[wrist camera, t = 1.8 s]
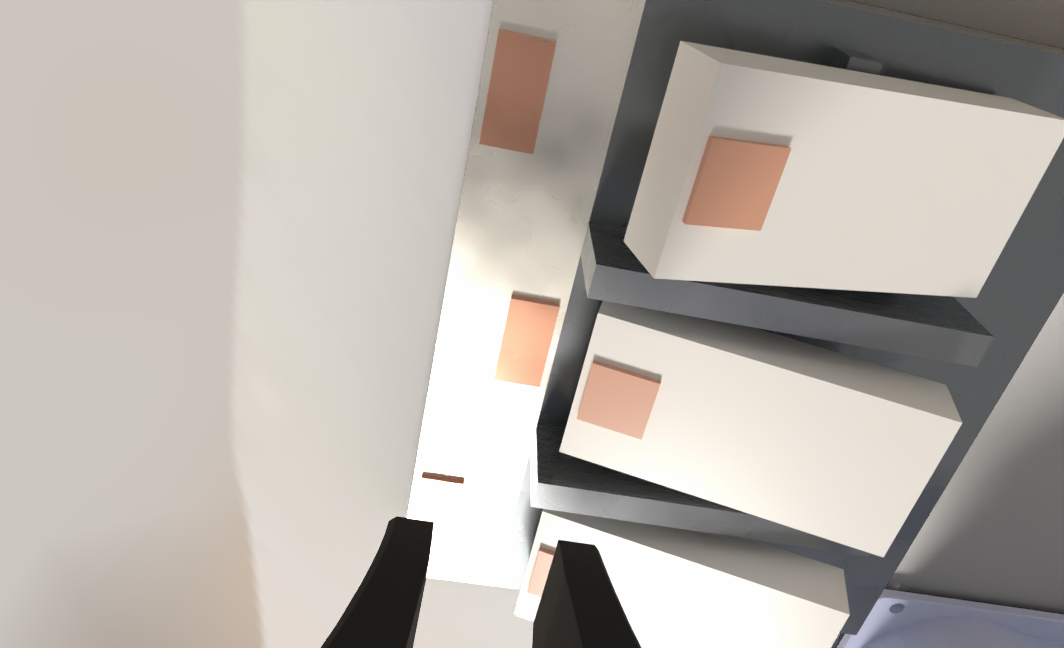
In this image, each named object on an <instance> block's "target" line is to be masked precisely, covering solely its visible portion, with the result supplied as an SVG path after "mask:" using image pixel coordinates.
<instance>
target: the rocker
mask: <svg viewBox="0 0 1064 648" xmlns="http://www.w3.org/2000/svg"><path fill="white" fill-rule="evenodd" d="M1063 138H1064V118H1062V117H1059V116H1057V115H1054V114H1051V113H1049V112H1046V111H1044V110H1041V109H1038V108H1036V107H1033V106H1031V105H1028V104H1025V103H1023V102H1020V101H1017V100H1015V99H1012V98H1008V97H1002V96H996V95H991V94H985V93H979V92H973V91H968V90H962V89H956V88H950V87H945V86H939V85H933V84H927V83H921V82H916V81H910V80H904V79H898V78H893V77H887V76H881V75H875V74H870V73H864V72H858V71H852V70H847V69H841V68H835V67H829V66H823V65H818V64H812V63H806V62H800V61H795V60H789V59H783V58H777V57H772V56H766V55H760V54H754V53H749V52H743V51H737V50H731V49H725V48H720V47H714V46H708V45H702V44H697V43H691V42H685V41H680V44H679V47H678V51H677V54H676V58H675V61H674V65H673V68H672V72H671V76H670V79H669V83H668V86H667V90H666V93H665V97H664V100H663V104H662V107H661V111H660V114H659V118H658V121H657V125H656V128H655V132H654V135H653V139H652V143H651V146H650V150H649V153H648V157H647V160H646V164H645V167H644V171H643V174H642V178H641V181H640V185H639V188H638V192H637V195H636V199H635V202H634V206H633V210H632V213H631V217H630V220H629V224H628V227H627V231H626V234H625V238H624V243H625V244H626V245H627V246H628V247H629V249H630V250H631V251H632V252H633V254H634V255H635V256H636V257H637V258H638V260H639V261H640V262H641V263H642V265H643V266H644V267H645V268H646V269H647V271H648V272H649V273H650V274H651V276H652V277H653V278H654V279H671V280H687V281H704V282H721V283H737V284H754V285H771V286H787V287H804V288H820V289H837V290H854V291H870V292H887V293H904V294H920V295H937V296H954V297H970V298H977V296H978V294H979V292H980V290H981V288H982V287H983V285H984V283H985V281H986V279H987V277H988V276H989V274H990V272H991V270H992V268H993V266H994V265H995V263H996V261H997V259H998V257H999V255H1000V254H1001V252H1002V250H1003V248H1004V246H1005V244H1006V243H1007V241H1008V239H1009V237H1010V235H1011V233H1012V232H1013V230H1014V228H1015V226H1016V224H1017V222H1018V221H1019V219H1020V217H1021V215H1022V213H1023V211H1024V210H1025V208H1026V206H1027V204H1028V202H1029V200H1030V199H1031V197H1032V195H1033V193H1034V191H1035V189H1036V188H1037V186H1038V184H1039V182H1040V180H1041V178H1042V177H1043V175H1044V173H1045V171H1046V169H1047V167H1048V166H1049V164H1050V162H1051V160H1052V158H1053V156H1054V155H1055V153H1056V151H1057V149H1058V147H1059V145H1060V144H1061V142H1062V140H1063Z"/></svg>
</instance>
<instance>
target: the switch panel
mask: <svg viewBox="0 0 1064 648" xmlns="http://www.w3.org/2000/svg"><path fill="white" fill-rule="evenodd" d="M680 41H685V42H691V43H697V44H702V45H708V46H714V47H720V48H725V49H731V50H737V51H743V52H749V53H754V54H760V55H766V56H772V57H777V58H783V59H789V60H795V61H800V62H806V63H812V64H818V65H823V66H829V67H835V68H841V69H847V70H852V71H858V72H864V73H870V74H875V75H881V76H887V77H893V78H898V79H904V80H910V81H916V82H921V83H927V84H933V85H939V86H945V87H950V88H956V89H962V90H968V91H973V92H979V93H985V94H991V95H996V96H1002V97H1008V98H1012V99H1015V100H1017V101H1020V102H1023V103H1025V104H1028V105H1031V106H1033V107H1036V108H1038V109H1041V110H1044V111H1046V112H1049V113H1051V114H1054V115H1057V116H1059V117H1062V118H1064V49H1061V48H1056V47H1052V46H1048V45H1043V44H1039V43H1034V42H1030V41H1026V40H1021V39H1017V38H1012V37H1008V36H1004V35H999V34H995V33H990V32H986V31H982V30H977V29H973V28H968V27H964V26H960V25H955V24H951V23H946V22H942V21H938V20H933V19H929V18H924V17H920V16H916V15H911V14H907V13H902V12H898V11H894V10H889V9H885V8H880V7H876V6H872V5H867V4H863V3H858V2H854V1H850V0H494V2H493V8H492V14H491V20H490V26H489V32H488V38H487V44H486V50H485V56H484V62H483V68H482V74H481V80H480V86H479V92H478V98H477V104H476V110H475V116H474V122H473V127H472V133H471V139H470V145H469V151H468V157H467V163H466V169H465V175H464V181H463V187H462V193H461V199H460V205H459V211H458V217H457V223H456V229H455V235H454V241H453V247H452V253H451V259H450V265H449V271H448V277H447V283H446V289H445V295H444V300H443V306H442V312H441V318H440V324H439V330H438V336H437V342H436V348H435V354H434V360H433V366H432V372H431V378H430V384H429V390H428V396H427V402H426V408H425V414H424V420H423V426H422V432H421V438H420V444H419V450H418V456H417V462H416V468H415V473H414V479H413V485H412V491H411V497H410V503H409V509H408V515H407V518H410V519H417V520H424V521H431V522H434V528H433V537H432V545H431V554H430V560H429V565H428V571H427V576H426V577H428V578H435V579H443V580H450V581H458V582H465V583H472V584H480V585H487V586H495V587H502V588H509V589H517V590H520V589H521V586H522V582H523V579H524V575H525V572H526V568H527V564H528V561H529V557H530V554H531V550H532V547H533V543H534V539H535V536H536V532H537V529H538V525H539V522H540V518H541V514H542V511H543V509H548V510H555V511H562V512H569V513H576V514H582V515H589V516H596V517H603V518H610V519H617V520H623V521H630V522H637V523H644V524H651V525H657V526H664V527H671V528H678V529H685V530H691V531H698V532H705V533H712V534H719V535H726V536H732V537H739V538H746V539H753V540H756V541H759V542H762V543H766V544H769V545H772V546H775V547H778V548H781V549H784V550H787V551H790V552H793V553H796V554H799V555H802V556H805V557H808V558H811V559H814V560H817V561H820V562H823V563H826V564H829V565H832V566H835V567H838V568H841V569H843V570H844V577H845V584H846V591H847V598H848V605H849V612H850V615H849V617H848V619H847V621H846V622H845V624H844V626H843V627H842V629H841V631H840V632H839V633H843V634H850V635H857V633H858V632H859V630H860V628H861V627H862V625H863V624H864V622H865V620H866V619H867V617H868V615H869V614H870V612H871V610H872V609H873V607H874V605H875V604H876V602H877V600H878V599H879V597H880V595H881V594H882V592H883V590H884V589H885V587H886V585H887V584H888V582H889V581H890V579H891V577H892V576H893V574H894V572H895V571H896V569H897V567H898V566H899V564H900V562H901V561H902V559H903V557H904V556H905V554H906V552H907V551H908V549H909V547H910V546H911V544H912V542H913V541H914V539H915V538H916V536H917V534H918V533H919V531H920V529H921V528H922V526H923V524H924V523H925V521H926V519H927V518H928V516H929V514H930V513H931V511H932V509H933V508H934V506H935V504H936V503H937V501H938V499H939V498H940V496H941V495H942V493H943V491H944V490H945V488H946V486H947V485H948V483H949V481H950V480H951V478H952V476H953V475H954V473H955V471H956V470H957V468H958V466H959V465H960V463H961V461H962V460H963V458H964V456H965V455H966V453H967V452H968V450H969V448H970V447H971V445H972V443H973V442H974V440H975V438H976V437H977V435H978V433H979V432H980V430H981V428H982V427H983V425H984V423H985V422H986V420H987V418H988V417H989V415H990V413H991V412H992V410H993V409H994V407H995V405H996V404H997V402H998V400H999V399H1000V397H1001V395H1002V394H1003V392H1004V390H1005V389H1006V387H1007V385H1008V384H1009V382H1010V380H1011V379H1012V377H1013V375H1014V374H1015V372H1016V370H1017V369H1018V367H1019V366H1020V364H1021V362H1022V361H1023V359H1024V357H1025V356H1026V354H1027V352H1028V351H1029V349H1030V347H1031V346H1032V344H1033V342H1034V341H1035V339H1036V337H1037V336H1038V334H1039V332H1040V331H1041V329H1042V327H1043V326H1044V324H1045V323H1046V321H1047V319H1048V318H1049V316H1050V314H1051V313H1052V311H1053V309H1054V308H1055V306H1056V304H1057V303H1058V301H1059V299H1060V298H1061V296H1062V294H1063V293H1064V138H1063V140H1062V142H1061V144H1060V145H1059V147H1058V149H1057V151H1056V153H1055V155H1054V156H1053V158H1052V160H1051V162H1050V164H1049V166H1048V167H1047V169H1046V171H1045V173H1044V175H1043V177H1042V178H1041V180H1040V182H1039V184H1038V186H1037V188H1036V189H1035V191H1034V193H1033V195H1032V197H1031V199H1030V200H1029V202H1028V204H1027V206H1026V208H1025V210H1024V211H1023V213H1022V215H1021V217H1020V219H1019V221H1018V222H1017V224H1016V226H1015V228H1014V230H1013V232H1012V233H1011V235H1010V237H1009V239H1008V241H1007V243H1006V244H1005V246H1004V248H1003V250H1002V252H1001V254H1000V255H999V257H998V259H997V261H996V263H995V265H994V266H993V268H992V270H991V272H990V274H989V276H988V277H987V279H986V281H985V283H984V285H983V287H982V288H981V290H980V292H979V294H978V296H977V298H970V297H954V296H937V295H920V294H904V293H887V292H870V291H854V290H837V289H820V288H804V287H787V286H771V285H754V284H737V283H721V282H704V281H687V280H671V279H654V278H653V277H652V276H651V274H650V273H649V272H648V271H647V269H646V268H645V267H644V266H643V265H642V263H641V262H640V261H639V260H638V258H637V257H636V256H635V255H634V254H633V252H632V251H631V250H630V249H629V247H628V246H627V245H626V244H625V243H624V238H625V234H626V231H627V227H628V224H629V220H630V217H631V213H632V210H633V206H634V202H635V199H636V195H637V192H638V188H639V185H640V181H641V178H642V174H643V171H644V167H645V164H646V160H647V157H648V153H649V150H650V146H651V143H652V139H653V135H654V132H655V128H656V125H657V121H658V118H659V114H660V111H661V107H662V104H663V100H664V97H665V93H666V90H667V86H668V83H669V79H670V76H671V72H672V68H673V65H674V61H675V58H676V54H677V51H678V47H679V44H680ZM602 301H607V302H613V303H619V304H624V305H630V306H636V307H641V308H647V309H653V310H658V311H664V312H669V313H675V314H681V315H686V316H692V317H698V318H703V319H709V320H715V321H720V322H726V323H732V324H737V325H743V326H748V327H754V328H757V329H760V330H764V331H767V332H770V333H774V334H777V335H780V336H784V337H787V338H791V339H794V340H797V341H801V342H804V343H807V344H811V345H814V346H818V347H821V348H824V349H828V350H831V351H834V352H838V353H841V354H844V355H848V356H851V357H855V358H858V359H861V360H865V361H868V362H871V363H875V364H878V365H882V366H885V367H888V368H892V369H895V370H898V371H902V372H905V373H908V374H912V375H915V376H919V377H922V378H925V379H929V380H932V381H935V382H939V383H942V384H946V385H947V387H948V390H949V392H950V394H951V397H952V399H953V402H954V404H955V406H956V409H957V411H958V413H959V416H960V418H961V420H962V425H961V426H960V428H959V430H958V432H957V433H956V435H955V437H954V438H953V440H952V442H951V443H950V445H949V447H948V449H947V450H946V452H945V454H944V455H943V457H942V459H941V460H940V462H939V464H938V466H937V467H936V469H935V471H934V472H933V474H932V476H931V477H930V479H929V481H928V483H927V484H926V486H925V488H924V489H923V491H922V493H921V495H920V496H919V498H918V500H917V501H916V503H915V505H914V506H913V508H912V510H911V512H910V513H909V515H908V517H907V518H906V520H905V522H904V523H903V525H902V527H901V529H900V530H899V532H898V534H897V535H896V537H895V539H894V540H893V542H892V544H891V546H890V547H889V549H888V551H887V552H886V554H885V556H884V558H883V557H880V556H877V555H874V554H871V553H868V552H865V551H862V550H859V549H856V548H853V547H850V546H846V545H843V544H840V543H837V542H834V541H831V540H828V539H825V538H822V537H819V536H816V535H813V534H810V533H807V532H804V531H800V530H797V529H794V528H791V527H788V526H785V525H782V524H779V523H776V522H773V521H770V520H767V519H764V518H761V517H758V516H755V515H751V514H748V513H745V512H742V511H739V510H736V509H733V508H730V507H727V506H724V505H721V504H718V503H715V502H712V501H709V500H705V499H702V498H699V497H696V496H693V495H690V494H687V493H684V492H681V491H678V490H675V489H672V488H669V487H666V486H663V485H659V484H656V483H653V482H650V481H647V480H644V479H641V478H638V477H635V476H632V475H629V474H626V473H623V472H620V471H617V470H614V469H610V468H607V467H604V466H601V465H598V464H595V463H592V462H589V461H586V460H583V459H580V458H577V457H574V456H571V455H568V454H564V453H561V452H559V450H560V447H561V443H562V439H563V436H564V432H565V429H566V425H567V421H568V418H569V414H570V411H571V407H572V404H573V400H574V396H575V393H576V389H577V386H578V382H579V379H580V375H581V371H582V368H583V364H584V361H585V357H586V354H587V350H588V346H589V343H590V339H591V336H592V332H593V329H594V325H595V321H596V318H597V314H598V311H599V309H600V306H601V304H602Z"/></svg>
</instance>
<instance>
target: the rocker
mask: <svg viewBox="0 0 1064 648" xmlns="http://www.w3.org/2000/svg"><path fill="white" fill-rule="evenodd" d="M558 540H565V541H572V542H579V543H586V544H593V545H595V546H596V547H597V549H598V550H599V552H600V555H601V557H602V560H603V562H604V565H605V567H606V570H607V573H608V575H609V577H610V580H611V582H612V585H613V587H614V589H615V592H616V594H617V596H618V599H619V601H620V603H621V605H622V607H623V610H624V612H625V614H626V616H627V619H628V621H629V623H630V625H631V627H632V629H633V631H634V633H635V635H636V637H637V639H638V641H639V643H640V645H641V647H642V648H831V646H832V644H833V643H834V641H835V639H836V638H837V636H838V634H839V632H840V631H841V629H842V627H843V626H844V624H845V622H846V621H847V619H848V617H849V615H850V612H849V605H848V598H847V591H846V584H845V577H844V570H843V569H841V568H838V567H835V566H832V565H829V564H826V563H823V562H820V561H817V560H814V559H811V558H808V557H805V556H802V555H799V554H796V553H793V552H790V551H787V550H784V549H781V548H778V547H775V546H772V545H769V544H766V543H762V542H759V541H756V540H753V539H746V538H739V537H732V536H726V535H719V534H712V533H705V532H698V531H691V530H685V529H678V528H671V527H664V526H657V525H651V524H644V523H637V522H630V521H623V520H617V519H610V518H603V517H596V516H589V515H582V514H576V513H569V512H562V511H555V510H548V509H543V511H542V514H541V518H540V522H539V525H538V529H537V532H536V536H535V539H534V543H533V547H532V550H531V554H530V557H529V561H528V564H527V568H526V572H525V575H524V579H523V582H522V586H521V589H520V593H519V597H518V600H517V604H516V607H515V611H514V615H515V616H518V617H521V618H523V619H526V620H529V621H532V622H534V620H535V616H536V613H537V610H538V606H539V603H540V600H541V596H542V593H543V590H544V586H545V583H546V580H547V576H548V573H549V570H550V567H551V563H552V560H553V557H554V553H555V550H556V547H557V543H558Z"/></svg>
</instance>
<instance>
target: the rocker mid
mask: <svg viewBox="0 0 1064 648" xmlns="http://www.w3.org/2000/svg"><path fill="white" fill-rule="evenodd" d="M961 425H962V420H961V418H960V416H959V413H958V411H957V409H956V406H955V404H954V402H953V399H952V397H951V394H950V392H949V390H948V387H947V385H946V384H942V383H939V382H935V381H932V380H929V379H925V378H922V377H919V376H915V375H912V374H908V373H905V372H902V371H898V370H895V369H892V368H888V367H885V366H882V365H878V364H875V363H871V362H868V361H865V360H861V359H858V358H855V357H851V356H848V355H844V354H841V353H838V352H834V351H831V350H828V349H824V348H821V347H818V346H814V345H811V344H807V343H804V342H801V341H797V340H794V339H791V338H787V337H784V336H780V335H777V334H774V333H770V332H767V331H764V330H760V329H757V328H754V327H748V326H743V325H737V324H732V323H726V322H720V321H715V320H709V319H703V318H698V317H692V316H686V315H681V314H675V313H669V312H664V311H658V310H653V309H647V308H641V307H636V306H630V305H624V304H619V303H613V302H607V301H602V304H601V306H600V309H599V311H598V314H597V318H596V321H595V325H594V329H593V332H592V336H591V339H590V343H589V346H588V350H587V354H586V357H585V361H584V364H583V368H582V371H581V375H580V379H579V382H578V386H577V389H576V393H575V396H574V400H573V404H572V407H571V411H570V414H569V418H568V421H567V425H566V429H565V432H564V436H563V439H562V443H561V447H560V450H559V452H561V453H564V454H568V455H571V456H574V457H577V458H580V459H583V460H586V461H589V462H592V463H595V464H598V465H601V466H604V467H607V468H610V469H614V470H617V471H620V472H623V473H626V474H629V475H632V476H635V477H638V478H641V479H644V480H647V481H650V482H653V483H656V484H659V485H663V486H666V487H669V488H672V489H675V490H678V491H681V492H684V493H687V494H690V495H693V496H696V497H699V498H702V499H705V500H709V501H712V502H715V503H718V504H721V505H724V506H727V507H730V508H733V509H736V510H739V511H742V512H745V513H748V514H751V515H755V516H758V517H761V518H764V519H767V520H770V521H773V522H776V523H779V524H782V525H785V526H788V527H791V528H794V529H797V530H800V531H804V532H807V533H810V534H813V535H816V536H819V537H822V538H825V539H828V540H831V541H834V542H837V543H840V544H843V545H846V546H850V547H853V548H856V549H859V550H862V551H865V552H868V553H871V554H874V555H877V556H880V557H883V558H884V556H885V554H886V552H887V551H888V549H889V547H890V546H891V544H892V542H893V540H894V539H895V537H896V535H897V534H898V532H899V530H900V529H901V527H902V525H903V523H904V522H905V520H906V518H907V517H908V515H909V513H910V512H911V510H912V508H913V506H914V505H915V503H916V501H917V500H918V498H919V496H920V495H921V493H922V491H923V489H924V488H925V486H926V484H927V483H928V481H929V479H930V477H931V476H932V474H933V472H934V471H935V469H936V467H937V466H938V464H939V462H940V460H941V459H942V457H943V455H944V454H945V452H946V450H947V449H948V447H949V445H950V443H951V442H952V440H953V438H954V437H955V435H956V433H957V432H958V430H959V428H960V426H961Z"/></svg>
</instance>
